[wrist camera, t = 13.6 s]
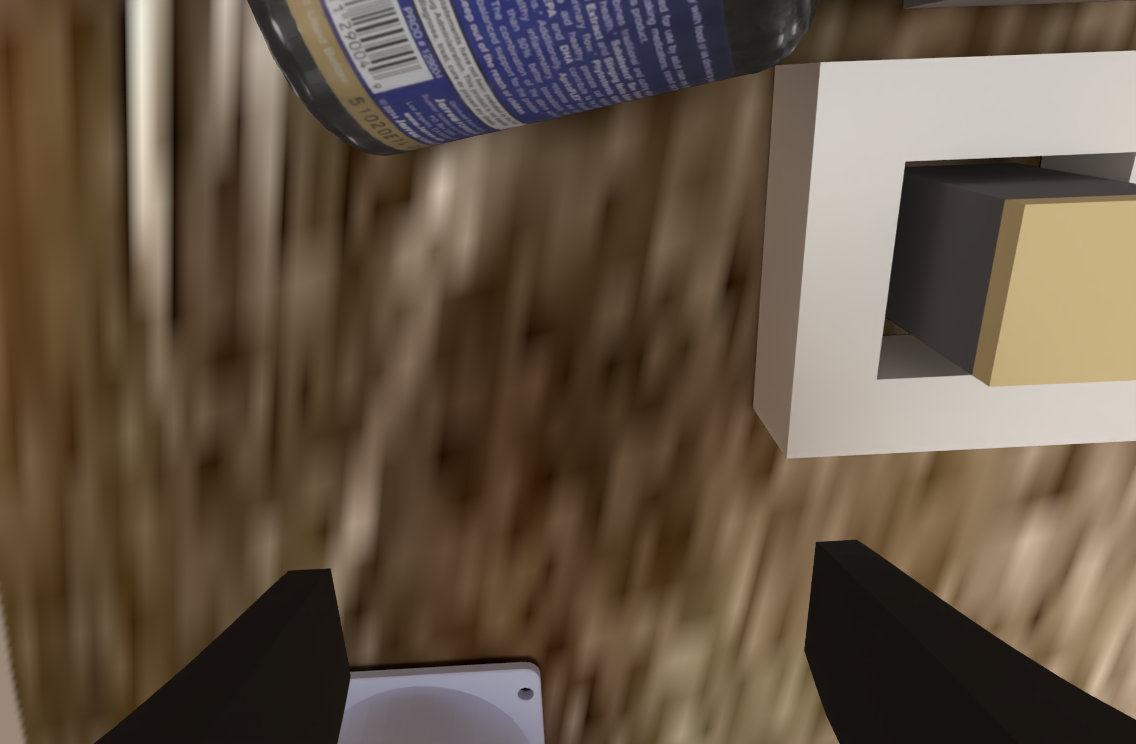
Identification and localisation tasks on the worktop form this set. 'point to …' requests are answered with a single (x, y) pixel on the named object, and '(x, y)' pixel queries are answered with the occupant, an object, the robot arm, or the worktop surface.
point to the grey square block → (985, 2)
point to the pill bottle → (508, 58)
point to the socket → (867, 236)
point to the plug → (1018, 272)
